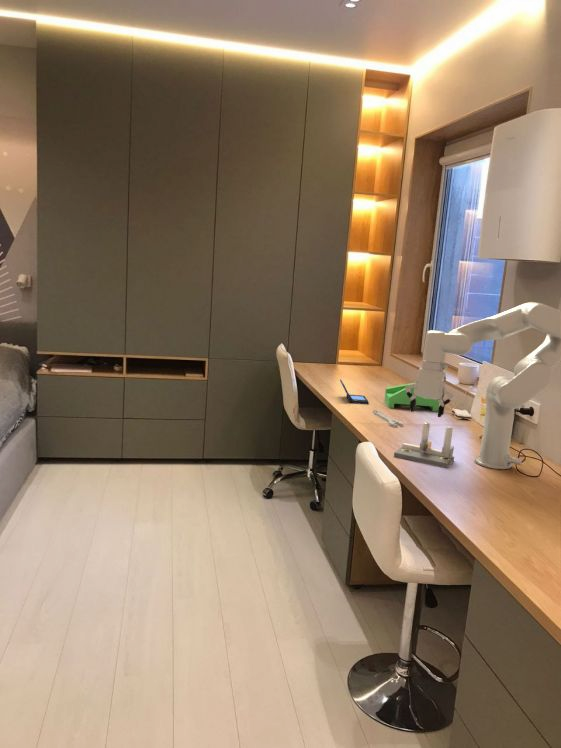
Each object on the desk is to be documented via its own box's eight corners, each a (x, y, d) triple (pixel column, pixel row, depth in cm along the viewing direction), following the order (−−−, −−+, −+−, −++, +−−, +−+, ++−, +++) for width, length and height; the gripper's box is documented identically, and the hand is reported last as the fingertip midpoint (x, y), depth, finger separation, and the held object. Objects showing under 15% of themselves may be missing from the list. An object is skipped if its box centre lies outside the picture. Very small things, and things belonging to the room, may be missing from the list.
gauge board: (453, 460, 224) (458, 425, 221) (447, 467, 215) (451, 431, 213) (402, 450, 232) (405, 416, 230) (393, 456, 224) (397, 421, 221)
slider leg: (430, 450, 227) (434, 421, 225) (426, 454, 222) (429, 424, 220) (422, 449, 228) (425, 419, 226) (418, 452, 223) (421, 423, 221)
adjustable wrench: (371, 413, 289) (371, 409, 288) (384, 413, 290) (384, 410, 290) (391, 427, 265) (391, 423, 264) (405, 428, 266) (405, 424, 266)
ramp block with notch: (432, 405, 314) (434, 382, 312) (438, 412, 301) (441, 387, 298) (384, 402, 314) (386, 378, 312) (388, 408, 301) (390, 384, 299)
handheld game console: (368, 405, 305) (370, 386, 303) (341, 403, 304) (343, 384, 303) (364, 398, 320) (365, 380, 319) (338, 396, 320) (339, 378, 318)
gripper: (460, 369, 217) (452, 416, 220) (411, 361, 225) (405, 407, 228) (455, 371, 211) (447, 420, 214) (405, 363, 218) (399, 410, 222)
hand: (425, 413), depth 221 cm, fingers open, 9 cm apart
